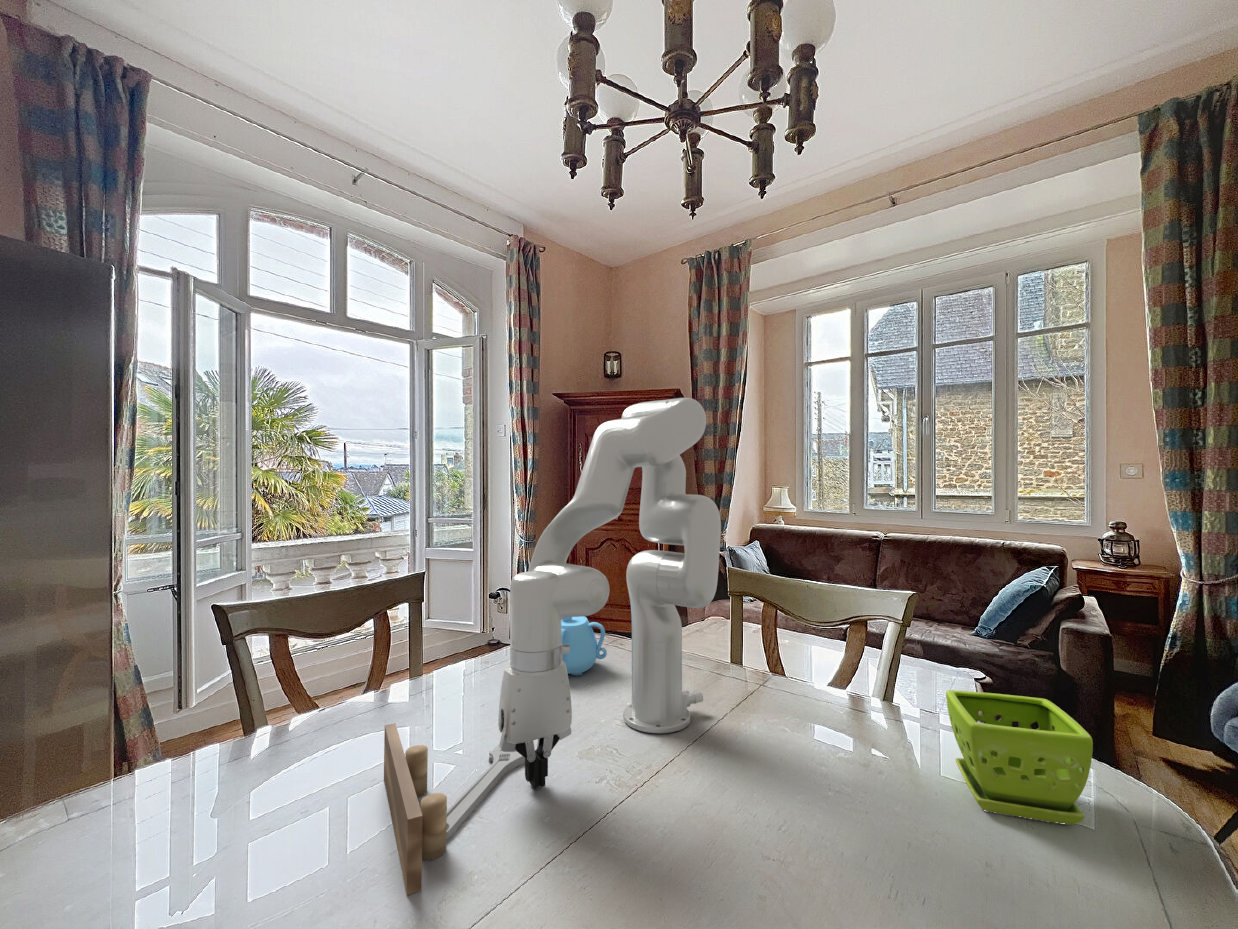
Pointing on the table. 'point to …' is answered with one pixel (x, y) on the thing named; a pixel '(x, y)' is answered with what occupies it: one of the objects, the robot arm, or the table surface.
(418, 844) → the tool rack
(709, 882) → the table surface
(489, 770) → the adjustable wrench
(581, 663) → the decorative pot
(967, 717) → the flower pot
